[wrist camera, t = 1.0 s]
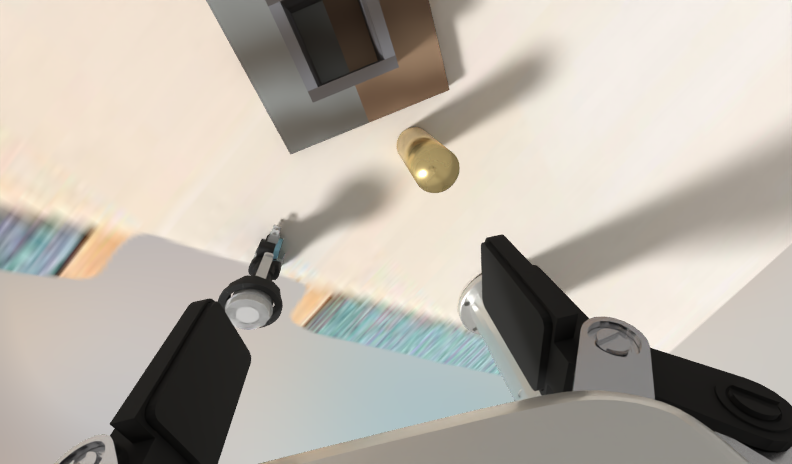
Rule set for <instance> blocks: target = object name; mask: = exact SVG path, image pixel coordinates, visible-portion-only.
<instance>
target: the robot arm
mask: <svg viewBox="0 0 792 464" xmlns="http://www.w3.org/2000/svg"><path fill="white" fill-rule="evenodd" d="M481 266H482V274H481V275H480V276H478V277H477V278H476V279H474V280H473V281H472V282H471V283H470V284H469V285H468V286H467V288H466V289H465V290H464V292H463V294H462V296H461V297H460V301H459V304H458V312H459V316H460V319H461V321H462V323H463V324H464V326H465V327H466V328H467V329H468V330H469V331H471V332H473V333H475V334H479V335H481V336H482V338H483V340H484V342H485V344H486V346H487V348H488V350H489V352H490V354H491V356H492V358H493V360H494V362H495V364H496V366H497V368H498V369H499V371H500V373H501V375H502V377H503V379H504V381H505V383H506V385H507V387H508V389H509V391H510V393H511V395H512V397H513V398H514V402H510V403H505V404H501V405H496V406H492V407H487V408H483V409H479V410H474V411H470V412H466V413H462V414H458V415H454V416H450V417H445V418H441V419H437V420H433V421H429V422H425V423H421V424H417V425H413V426H408V427H404V428H400V429H396V430H392V431H388V432H384V433H380V434H376V435H372V436H368V437H364V438H359V439H356V440H351V441H347V442H343V443H339V444H335V445H331V446H327V447H323V448H319V449H315V450H311V451H307V452H303V453H299V454H295V455H291V456H287V457H283V458H280V459H275V460H271V461H268V462H263V463H260V464H792V406H791V405H790V404H789V403H788V402H787V401H786V400H784V399H783V398H782V397H780V396H779V395H778V394H776V393H775V392H773V391H772V390H770V389H768V388H766V387H765V386H763V385H761V384H759V383H756V382H754V381H751V380H749V379H746V378H743V377H740V376H737V375H734V374H731V373H727V372H725V371H721V370H718V369H715V368H712V367H709V366H705V365H703V364H699V363H696V362H693V361H690V360H687V359H684V358H681V357H678V356H674V355H671V354H668V353H665V352H662V351H659V350H656V349H652V348H650V346H649V343H648V340H647V339H646V338H645V336H644V335H643V334H642V333H641V332H640V331H639V330H637V329H636V328H635V327H634V326H632V325H630V324H628V323H626V322H624V321H621V320H618V319H615V318H610V317H594V318H591V319H589V318H588V317H587V316H586V315H585V314H584V313H583V312H582V311H581V310H580V309H579V308H578V307H577V306H576V305H575V304H574V303H573V302H572V301H571V299H570V298H569V297H568V296H567V295H566V294H565V293H564V292H563V291H562V290H561V289H560V288H559V287H558V286H557V285H556V284H555V283H554V282H553V281H552V280H551V279H550V278H549V277H548V276H547V275H546V274H545V273H544V272H543V271H542V270H541V269H540V268H539V267H538V266H536V265H532V264H531V263H530V262H529V261H528V260H527V259H526V258H525V257H524V256H523V255H522V254H521V253H520V252H519V251H518V250H517V249H516V248H515V246H514V245H513V244H512V243H511V242H510V241H509V240H508V239H507V238H506V237H505V236H504V235H497V236H493V237H488V238H486V240H485V242H484V243H482V244H481ZM250 363H251V355H250V352H249V350H248V349H247V347H246V345H245V344H244V342H243V340H242V339H241V337H240V336H239V334H238V332H237V330H236V329H235V327H234V326H233V324H232V322H231V321H230V319H229V317H228V316H227V314H226V312H225V311H224V309H223V307H222V306H221V304H220V303H219V302H215V301H214V300H212V299H206V300H201V301H197V302H193V303H191V304H190V305H189V306H188V307H187V309H186V310H185V312H184V313H183V315H182V316H181V318H180V319H179V321H178V323H177V324H176V326H175V327H174V328H173V330H172V332H171V333H170V335H169V336H168V337H167V339H166V341H165V342H164V344H163V345H162V346H161V348H160V350H159V351H158V352H157V354H156V355H155V357H154V358H153V360H152V362H151V363H150V364H149V366H148V367H147V369H146V370H145V372H144V373H143V375H142V376H141V378H140V379H139V381H138V382H137V384H136V385H135V387H134V388H133V390H132V391H131V393H130V395H129V396H128V397H127V399H126V400H125V402H124V403H123V405H122V406H121V408H120V409H119V411H118V412H117V414H116V415H115V417H114V418H113V420H112V421H111V423H110V425H111V426H113V427H114V428H115V429H114V430H113V432H112V434H111V435H110V436H109V435H105V434H102V435H96V436H93V437H91V438H88V439H87V440H84V441H82V442H81V443H79V444H78V445H76V446H74V447H73V448H71V449H70V450H69V451H68V452H66V453H65V454H64V455H62V456H61V457H60V458H59V459H58V460H57V461H56V462H55V463H54V464H218V461H219V458H220V455H221V452H222V449H223V446H224V443H225V440H226V436H227V434H228V431H229V428H230V424H231V421H232V418H233V415H234V412H235V409H236V406H237V403H238V400H239V397H240V394H241V391H242V388H243V385H244V382H245V378H246V375H247V372H248V369H249V366H250Z"/></svg>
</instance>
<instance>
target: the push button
mask: <svg viewBox="0 0 792 464" xmlns="http://www.w3.org/2000/svg"><path fill="white" fill-rule="evenodd" d="M275 228H277V229H278V230H276V229H275ZM280 229H281V226H277V225H274V226H273V229H272V231H271V233H270V235H267V238H266V240H265V239H262V240H261V242H260V244H259V247H258V248H257V250H256V253H255V256H254V258H253V260H252V262H251V264H250V266H249V274H250V275H251V276H244V277H242V278H240V279H238V280H236V281H234V282H232V283H230V284H229V286H228V287H227V288H225V289H224V290H223V292H222V293H221V295H220V297H219V299H218V302H219V303H220V304H221V306H222V307H223V309H224V311H225V312H226V314H227V316H228V317H229V319H230V321H231V322H232V324H233V326H236V327H237V328H240V329H247V330H250V329H258V328H261V327H265V326H267V325H270V324H272V323H273V322H275V321H276V320H277V319H278V318H279V316H280V314H281V311H282V299H281V295H280V289H279V288H278V287H277V285H275V283H274V282H272V280H276V279H277V278H278V276H279V273H280V270H281V266H282V262H283V259H284V257H283V259H278V255H279V252H280V248H281V245H282V241H283V239H281V238H280V235H279V233H280ZM284 256H285V253H284ZM277 259H278V260H277ZM233 292H234V294H233V296H232V297H231V293H233ZM273 303H274V304H275V306H274V307H272V306H273Z"/></svg>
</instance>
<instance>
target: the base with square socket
mask: <svg viewBox="0 0 792 464" xmlns="http://www.w3.org/2000/svg"><path fill="white" fill-rule="evenodd" d="M206 1H207V3H208V5H209V6H210V8H211V10H212V12H213V14H214V15H215V17H216V19H217V21H218V23H219V25H220V26H221V28H222V30H223V32H224V34H225V36H226V37H227V39H228V41H229V43H230V45H231V47H232V48H233V50H234V52H235V54H236V56H237V57H238V59H239V61H240V63H241V65H242V67H243V68H244V70H245V72H246V74H247V76H248V78H249V79H250V81H251V83H252V85H253V87H254V89H255V90H256V92H257V94H258V96H259V98H260V99H261V101H262V103H263V105H264V107H265V109H266V110H267V112H268V114H269V116H270V118H271V120H272V121H273V123H274V125H275V127H276V129H277V131H278V132H279V134H280V136H281V138H282V140H283V141H284V143H285V145H286V147H287V149H288V151H289V152H290V154H293V153H295V152H298V151H300V150H303V149H305V148H307V147H310V146H312V145H315V144H317V143H320V142H322V141H325V140H327V139H330V138H332V137H335V136H337V135H339V134H342V133H344V132H347V131H349V130H352V129H354V128H357V127H359V126H362V125H364V124H367V123H369V122H371V121H374V120H376V119H379V118H381V117H384V116H386V115H389V114H391V113H394V112H396V111H399V110H401V109H403V108H406V107H408V106H411V105H413V104H416V103H418V102H421V101H423V100H426V99H428V98H431V97H433V96H435V95H438V94H440V93H443V92H445V91H448V90H449V86H448V82H447V77H446V73H445V69H444V65H443V60H442V56H441V52H440V47H439V43H438V39H437V35H436V30H435V26H434V22H433V17H432V13H431V9H430V4H429V0H206Z"/></svg>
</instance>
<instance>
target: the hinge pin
mask: <svg viewBox="0 0 792 464" xmlns="http://www.w3.org/2000/svg"><path fill="white" fill-rule="evenodd" d="M397 151H398V154H399V155H400V157H401V159H402V160H403V162H404V163H405V165H406V166H407V168H408V170H409V171H410V173H411V174H412V176H413V178H414V179H415V181H416V182H417V184H418V185H419V187H420V188H422V189H423V190H424V191H426V192H430V193H439V192H443V191H445V190H447V189H448V188H450V187H451V186H452V185H453V184H454V182H455V181H456V179H457V177H458V174H459V162H458V159H457V157H456V156H455V155H454V154H453V153H452V152H451V151H450V150H448V149H447V148H446V147H445V146H443V145H442V144H441V143H440V142H438V141H437V140H436V139H435V138H433V137H432V136H431V135H429V134H428V133H427V132H426V131H424V130H423V129H421V128H418V127H411V128H408V129H406V130H404V131H403V132H402V133H401V134H400V136H399V138H398V140H397Z"/></svg>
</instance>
